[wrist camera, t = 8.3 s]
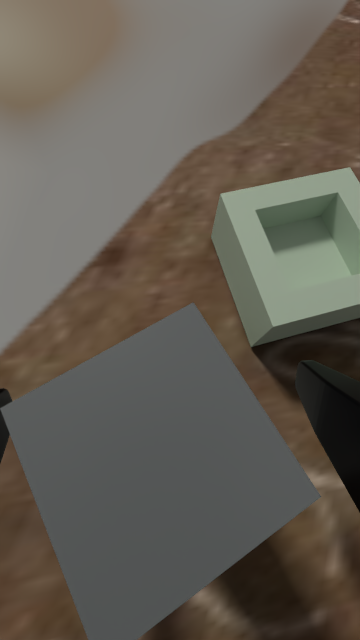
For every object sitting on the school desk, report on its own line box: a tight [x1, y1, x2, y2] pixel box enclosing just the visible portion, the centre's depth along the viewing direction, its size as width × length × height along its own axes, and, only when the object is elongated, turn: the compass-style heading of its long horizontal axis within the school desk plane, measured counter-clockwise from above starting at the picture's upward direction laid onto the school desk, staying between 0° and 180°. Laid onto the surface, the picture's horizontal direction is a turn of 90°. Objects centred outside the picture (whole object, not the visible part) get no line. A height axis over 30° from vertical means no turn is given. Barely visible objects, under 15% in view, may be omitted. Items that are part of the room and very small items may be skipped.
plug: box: [0, 303, 321, 640], centre depth 10 cm, size 4×4×12 cm
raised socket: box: [211, 167, 360, 347], centre depth 17 cm, size 8×8×4 cm
